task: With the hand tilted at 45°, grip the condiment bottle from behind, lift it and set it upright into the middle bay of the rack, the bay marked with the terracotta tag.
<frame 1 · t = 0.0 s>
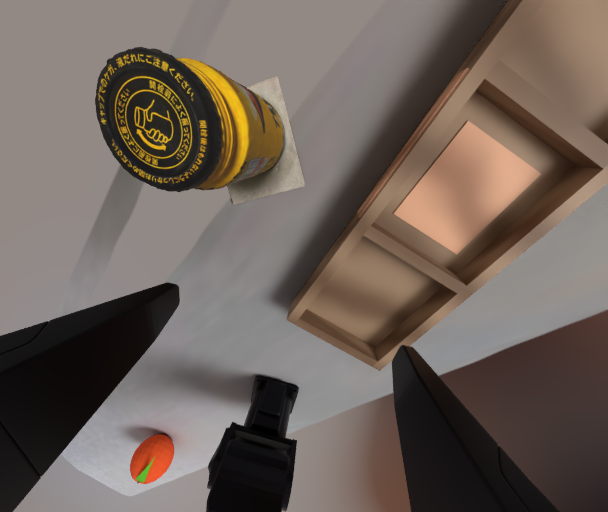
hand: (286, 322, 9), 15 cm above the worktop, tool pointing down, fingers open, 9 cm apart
condiment: (254, 147, 20), on the worktop
rack: (455, 192, 20), on the worktop
clementine: (166, 434, 46), on the worktop
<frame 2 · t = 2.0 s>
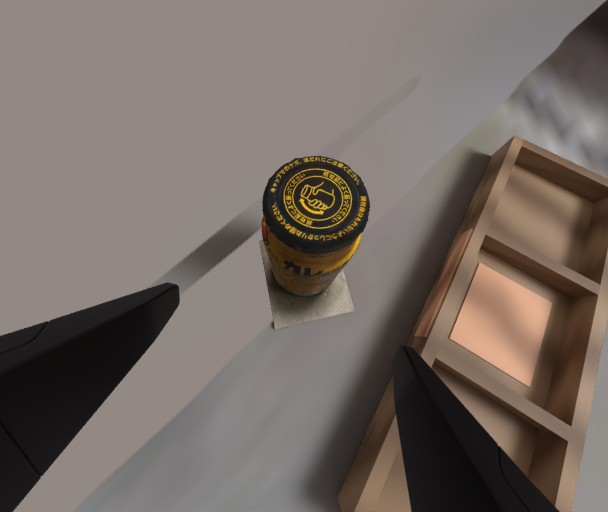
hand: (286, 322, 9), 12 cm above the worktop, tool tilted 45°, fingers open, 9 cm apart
condiment: (304, 275, 22), on the worktop
rack: (492, 320, 21), on the worktop
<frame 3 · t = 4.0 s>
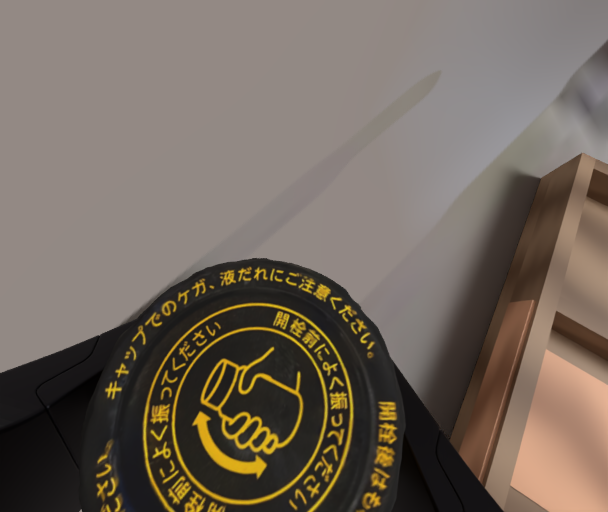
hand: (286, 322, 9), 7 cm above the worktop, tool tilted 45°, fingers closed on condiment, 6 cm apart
condiment: (282, 364, 15), on the worktop, touching gripper
rack: (563, 437, 14), on the worktop
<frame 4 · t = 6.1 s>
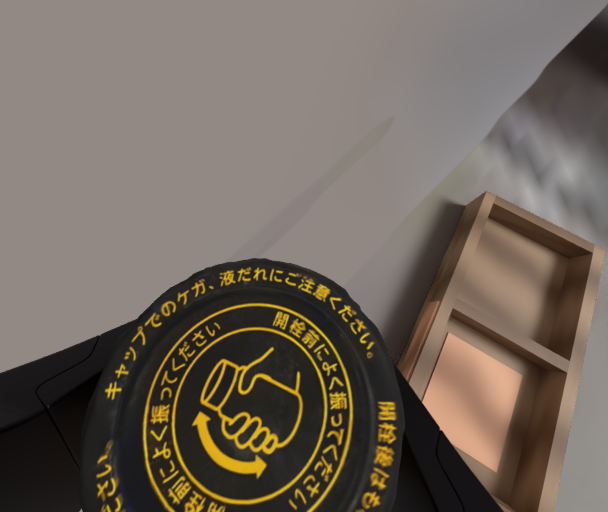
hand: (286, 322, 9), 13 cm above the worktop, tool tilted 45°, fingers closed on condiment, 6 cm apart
condiment: (282, 363, 15), point 6 cm above the worktop, touching gripper
rack: (461, 393, 21), on the worktop
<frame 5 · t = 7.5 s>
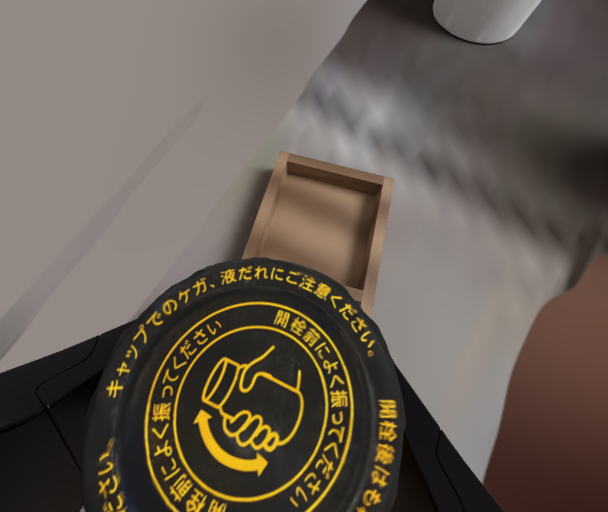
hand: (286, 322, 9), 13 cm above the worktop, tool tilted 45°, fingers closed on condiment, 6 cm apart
utensil holder: (471, 17, 37), on the worktop
condiment: (282, 363, 15), point 6 cm above the worktop, touching gripper
rack: (287, 350, 21), on the worktop
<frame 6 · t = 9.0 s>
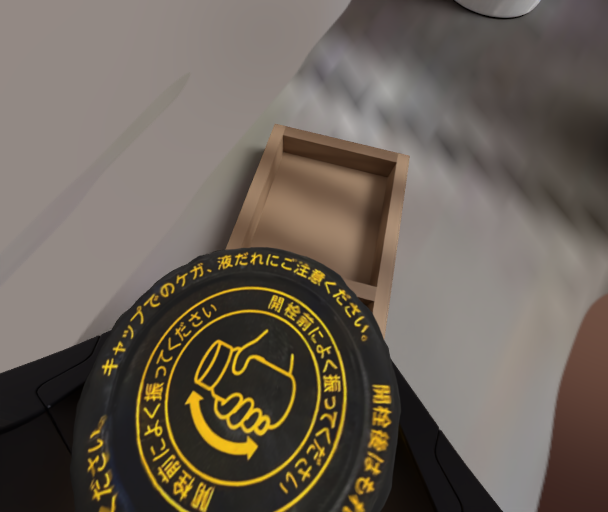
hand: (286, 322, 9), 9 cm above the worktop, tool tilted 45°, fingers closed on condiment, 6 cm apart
condiment: (284, 371, 15), point 3 cm above the worktop, touching gripper, rack
rack: (283, 361, 17), on the worktop
when the fingers open (9 cm above the worktop, at t = 9.1 s): condiment stays where it is, resting on rack.
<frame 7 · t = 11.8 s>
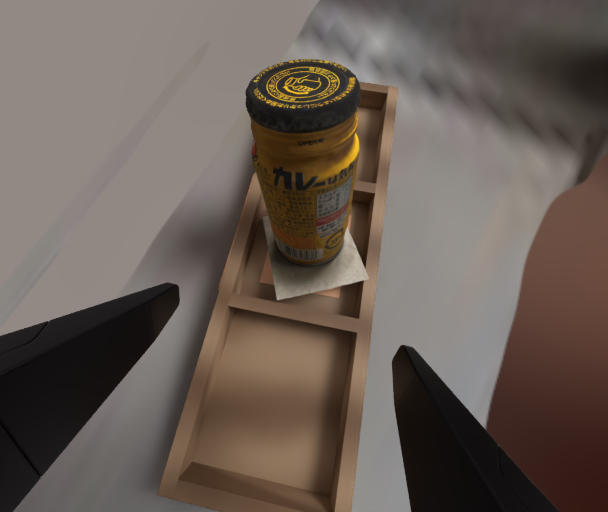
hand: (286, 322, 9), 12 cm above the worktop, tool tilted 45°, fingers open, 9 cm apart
condiment: (310, 247, 20), point 2 cm above the worktop, touching rack
rack: (307, 250, 22), on the worktop
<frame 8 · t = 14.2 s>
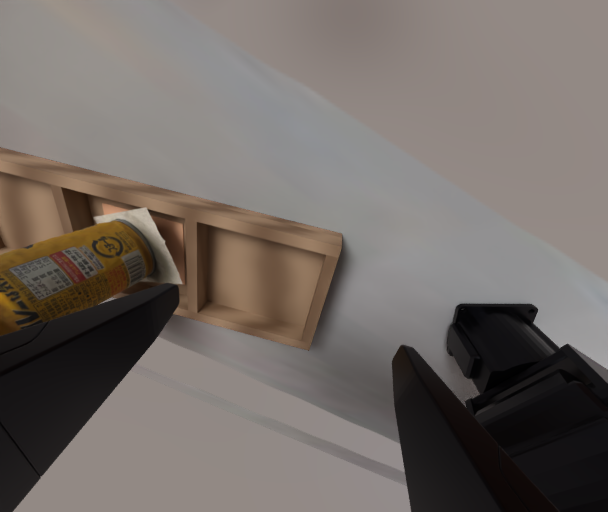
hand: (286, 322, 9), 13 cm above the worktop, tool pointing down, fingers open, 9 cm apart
condiment: (141, 247, 22), point 2 cm above the worktop, touching rack
rack: (153, 242, 24), on the worktop
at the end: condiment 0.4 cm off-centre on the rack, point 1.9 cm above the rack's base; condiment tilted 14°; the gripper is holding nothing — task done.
